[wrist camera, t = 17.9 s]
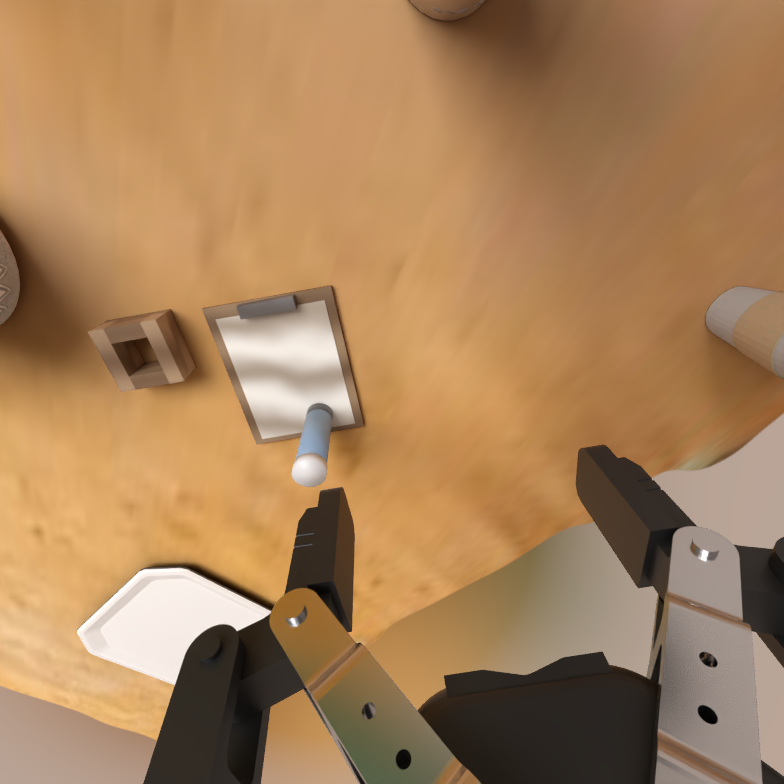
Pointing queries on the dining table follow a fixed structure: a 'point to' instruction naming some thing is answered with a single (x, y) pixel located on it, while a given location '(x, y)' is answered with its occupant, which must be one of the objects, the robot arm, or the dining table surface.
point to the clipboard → (286, 361)
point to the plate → (163, 619)
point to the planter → (8, 280)
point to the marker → (313, 446)
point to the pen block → (127, 360)
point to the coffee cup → (751, 324)
